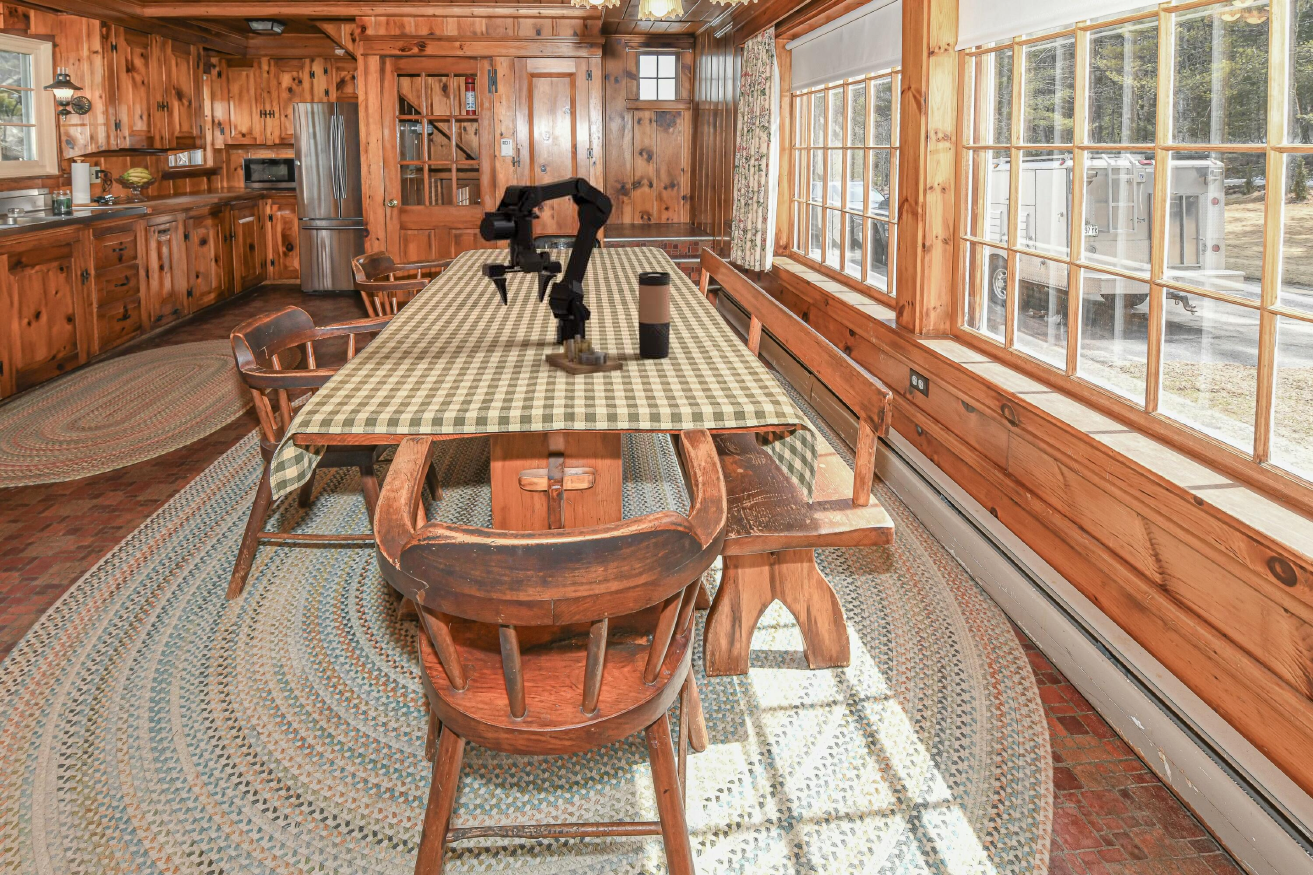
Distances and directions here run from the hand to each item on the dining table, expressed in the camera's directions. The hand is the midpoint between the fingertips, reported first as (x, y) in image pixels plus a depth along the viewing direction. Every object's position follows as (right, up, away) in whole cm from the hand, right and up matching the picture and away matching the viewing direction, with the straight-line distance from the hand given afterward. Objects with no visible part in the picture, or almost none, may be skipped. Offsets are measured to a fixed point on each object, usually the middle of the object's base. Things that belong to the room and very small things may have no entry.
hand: (523, 304), depth 234 cm
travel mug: (+32, -13, 0) cm, 35 cm away
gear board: (+15, -16, -10) cm, 24 cm away
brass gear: (+14, -13, -8) cm, 21 cm away
